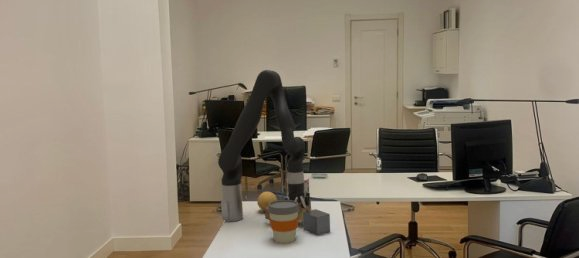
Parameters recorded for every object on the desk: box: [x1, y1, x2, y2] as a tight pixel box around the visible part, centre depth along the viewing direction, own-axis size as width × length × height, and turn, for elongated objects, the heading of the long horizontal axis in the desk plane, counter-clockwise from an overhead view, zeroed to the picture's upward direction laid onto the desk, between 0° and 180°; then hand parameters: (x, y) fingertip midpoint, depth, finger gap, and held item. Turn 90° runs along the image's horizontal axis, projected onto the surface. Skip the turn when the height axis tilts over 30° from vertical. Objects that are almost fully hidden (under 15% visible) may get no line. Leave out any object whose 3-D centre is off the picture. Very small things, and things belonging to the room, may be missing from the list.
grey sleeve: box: [303, 208, 331, 237], centre depth 201 cm, size 7×10×8 cm
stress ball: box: [256, 191, 278, 212], centre depth 233 cm, size 10×10×10 cm
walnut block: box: [264, 199, 312, 221], centre depth 218 cm, size 23×4×8 cm, turn 125°
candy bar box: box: [285, 177, 310, 199], centre depth 230 cm, size 11×5×16 cm, turn 84°
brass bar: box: [298, 207, 310, 223], centre depth 211 cm, size 4×21×4 cm, turn 35°
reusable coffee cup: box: [268, 199, 299, 244], centre depth 193 cm, size 13×13×15 cm
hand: (297, 217), depth 213 cm, fingers open, 6 cm apart
